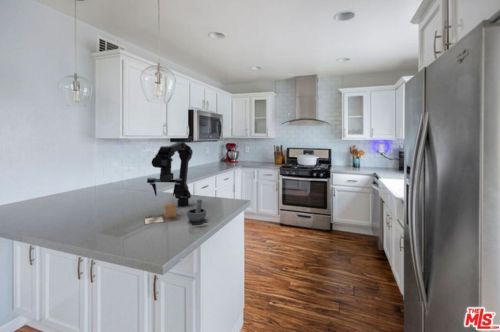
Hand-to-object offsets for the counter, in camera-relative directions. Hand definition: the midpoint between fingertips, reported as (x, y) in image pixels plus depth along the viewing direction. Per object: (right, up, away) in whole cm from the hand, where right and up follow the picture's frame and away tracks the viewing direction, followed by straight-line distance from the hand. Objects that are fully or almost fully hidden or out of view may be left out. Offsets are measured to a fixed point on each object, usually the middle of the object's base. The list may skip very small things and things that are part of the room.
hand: (164, 196), depth 144 cm
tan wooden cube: (+3, -11, +1) cm, 12 cm away
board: (-1, -13, -3) cm, 14 cm away
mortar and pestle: (+20, -14, -7) cm, 25 cm away
